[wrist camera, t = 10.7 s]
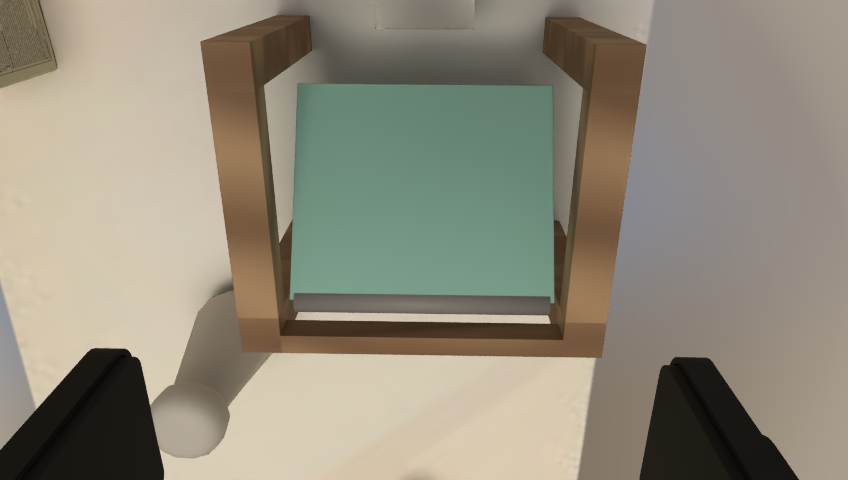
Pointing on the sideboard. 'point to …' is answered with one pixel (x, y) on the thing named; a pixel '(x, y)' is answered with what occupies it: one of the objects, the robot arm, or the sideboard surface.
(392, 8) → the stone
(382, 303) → the trapdoor
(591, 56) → the frame
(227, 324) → the salt shaker
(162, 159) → the sideboard surface
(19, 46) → the skincare box
